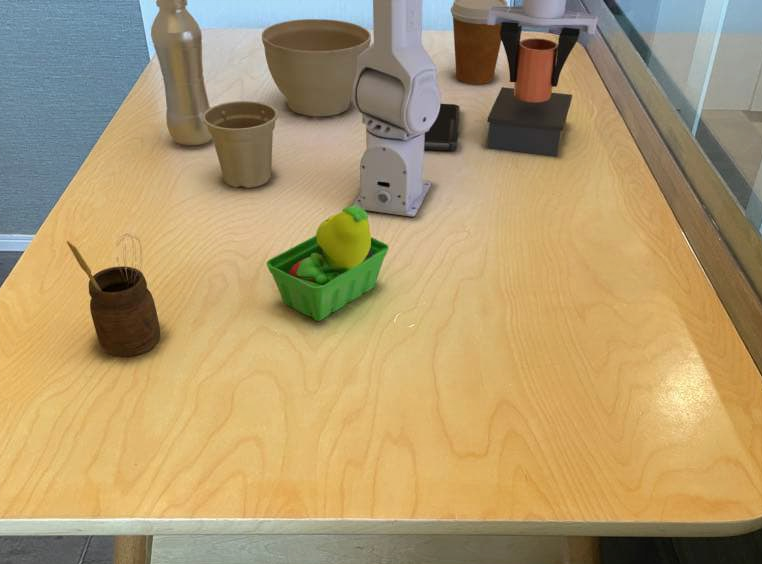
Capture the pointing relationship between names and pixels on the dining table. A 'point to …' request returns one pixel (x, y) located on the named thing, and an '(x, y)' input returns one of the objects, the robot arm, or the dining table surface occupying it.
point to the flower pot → (243, 140)
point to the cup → (535, 69)
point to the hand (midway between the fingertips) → (534, 82)
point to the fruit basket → (330, 265)
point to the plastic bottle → (181, 71)
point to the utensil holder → (121, 308)
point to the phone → (444, 129)
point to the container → (528, 123)
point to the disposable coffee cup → (475, 40)
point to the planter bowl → (315, 62)
